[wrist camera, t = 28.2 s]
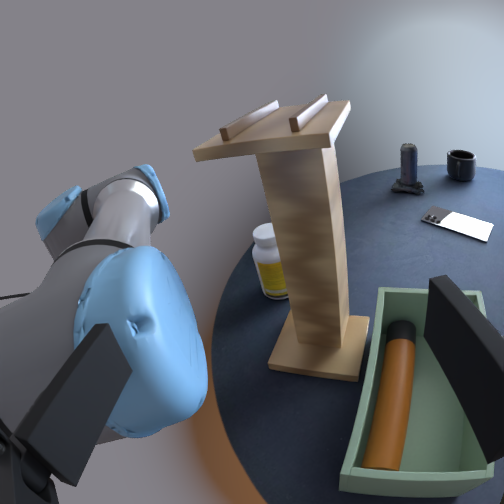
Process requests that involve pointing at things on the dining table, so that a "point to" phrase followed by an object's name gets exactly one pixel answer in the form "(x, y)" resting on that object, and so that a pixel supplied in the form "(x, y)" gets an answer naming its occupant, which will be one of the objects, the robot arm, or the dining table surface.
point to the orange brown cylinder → (392, 399)
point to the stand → (303, 230)
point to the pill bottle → (268, 262)
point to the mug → (461, 165)
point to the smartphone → (458, 223)
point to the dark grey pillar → (408, 171)
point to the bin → (416, 416)
